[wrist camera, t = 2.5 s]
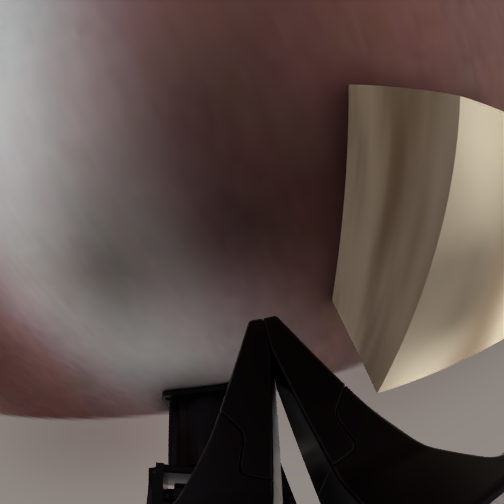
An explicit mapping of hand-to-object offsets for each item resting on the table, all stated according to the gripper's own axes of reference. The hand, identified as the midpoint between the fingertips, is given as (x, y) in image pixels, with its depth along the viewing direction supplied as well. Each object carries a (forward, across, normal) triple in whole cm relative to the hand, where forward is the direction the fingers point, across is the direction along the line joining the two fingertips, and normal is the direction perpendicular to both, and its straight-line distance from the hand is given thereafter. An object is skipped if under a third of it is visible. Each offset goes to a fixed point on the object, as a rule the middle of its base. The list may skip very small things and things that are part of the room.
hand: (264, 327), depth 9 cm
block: (+6, -10, 0) cm, 12 cm away
